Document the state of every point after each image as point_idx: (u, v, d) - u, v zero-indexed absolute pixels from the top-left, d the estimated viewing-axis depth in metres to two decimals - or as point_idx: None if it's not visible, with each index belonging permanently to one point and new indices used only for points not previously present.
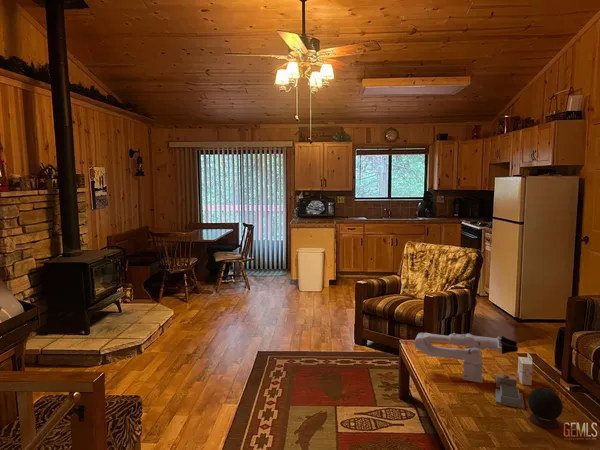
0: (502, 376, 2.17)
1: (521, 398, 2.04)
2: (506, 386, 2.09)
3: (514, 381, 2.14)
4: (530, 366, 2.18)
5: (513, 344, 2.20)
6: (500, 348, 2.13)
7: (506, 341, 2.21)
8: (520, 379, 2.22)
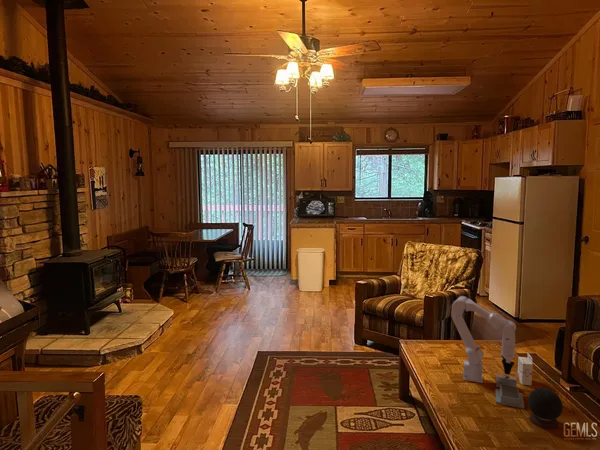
0: (502, 376, 2.17)
1: (521, 398, 2.04)
2: (506, 386, 2.09)
3: (514, 381, 2.14)
4: (530, 366, 2.18)
5: None
6: (509, 361, 2.09)
7: None
8: (520, 379, 2.22)
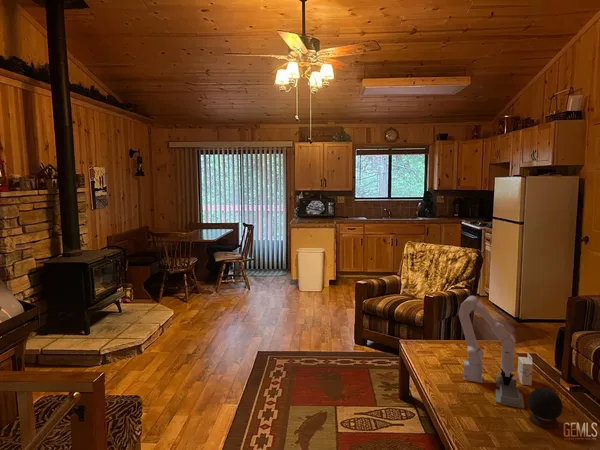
0: None
1: (521, 398, 2.04)
2: (506, 386, 2.09)
3: (514, 381, 2.14)
4: (530, 366, 2.18)
5: None
6: (508, 375, 2.10)
7: None
8: (520, 379, 2.22)
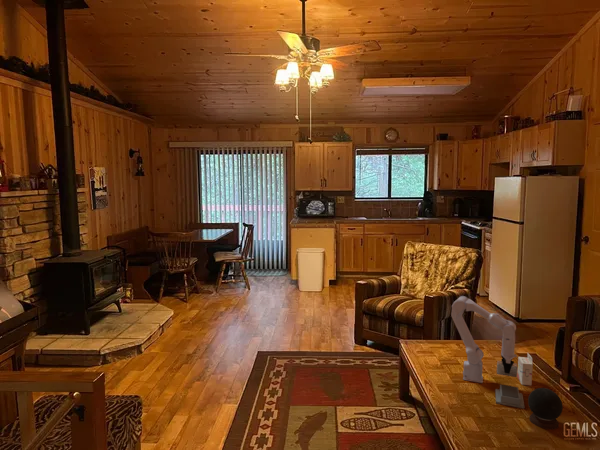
0: None
1: (521, 398, 2.04)
2: (506, 386, 2.09)
3: (515, 368, 2.13)
4: (530, 366, 2.18)
5: None
6: (509, 362, 2.09)
7: None
8: (520, 379, 2.22)
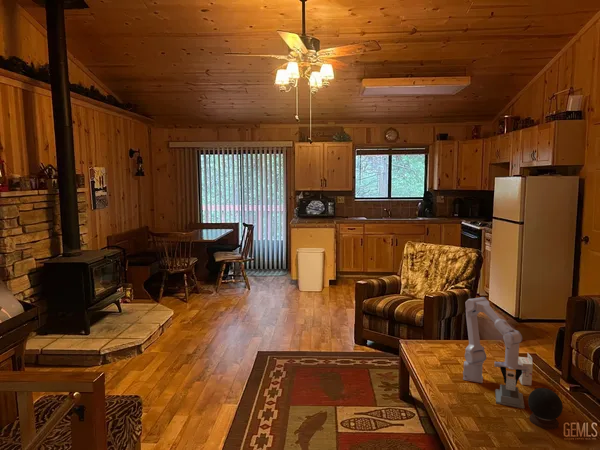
0: (509, 373, 2.06)
1: (521, 398, 2.04)
2: None
3: (506, 379, 2.02)
4: (530, 366, 2.18)
5: None
6: (494, 365, 2.06)
7: None
8: (520, 379, 2.22)
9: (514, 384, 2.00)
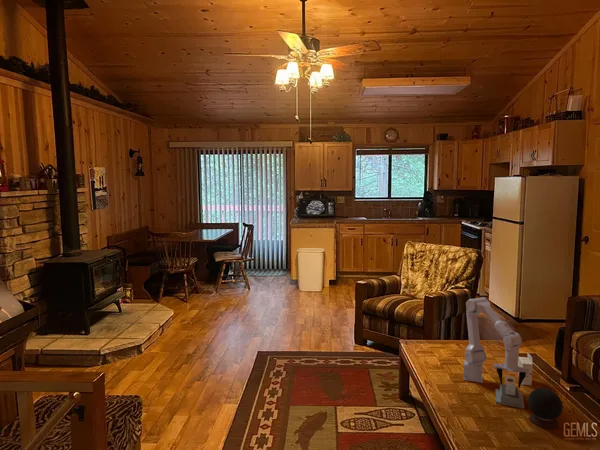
0: (509, 378, 2.06)
1: (521, 398, 2.04)
2: None
3: (506, 384, 2.02)
4: (530, 366, 2.18)
5: (518, 383, 2.03)
6: None
7: (519, 377, 2.02)
8: None
9: (514, 389, 2.00)
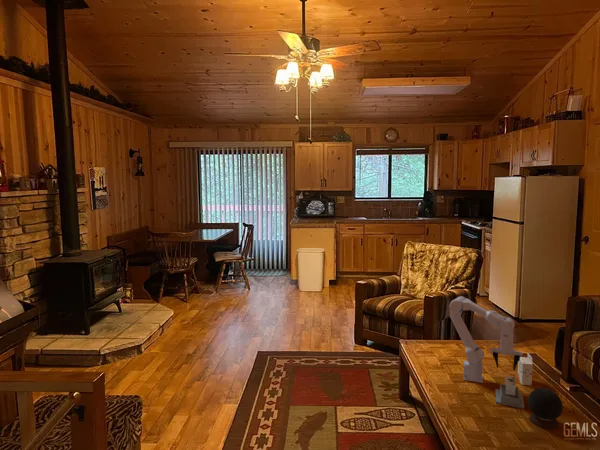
0: (509, 378, 2.06)
1: (521, 398, 2.04)
2: None
3: (506, 384, 2.02)
4: (530, 366, 2.18)
5: (513, 366, 2.14)
6: (490, 351, 2.17)
7: (514, 360, 2.13)
8: (520, 379, 2.22)
9: (514, 389, 2.00)
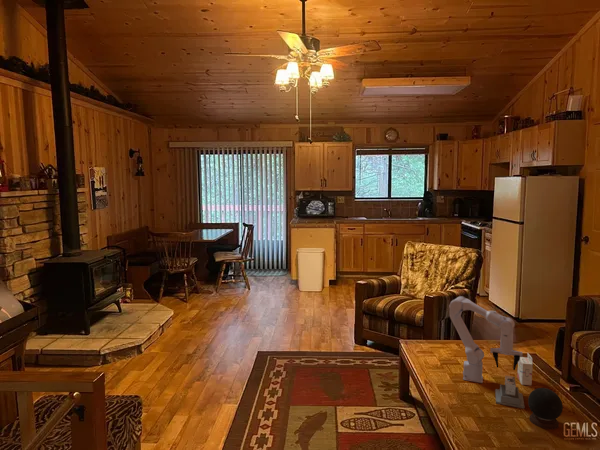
0: (509, 378, 2.06)
1: (521, 398, 2.04)
2: None
3: (506, 384, 2.02)
4: (530, 366, 2.18)
5: (513, 366, 2.14)
6: (490, 351, 2.17)
7: (514, 360, 2.13)
8: (520, 379, 2.22)
9: (514, 389, 2.00)
